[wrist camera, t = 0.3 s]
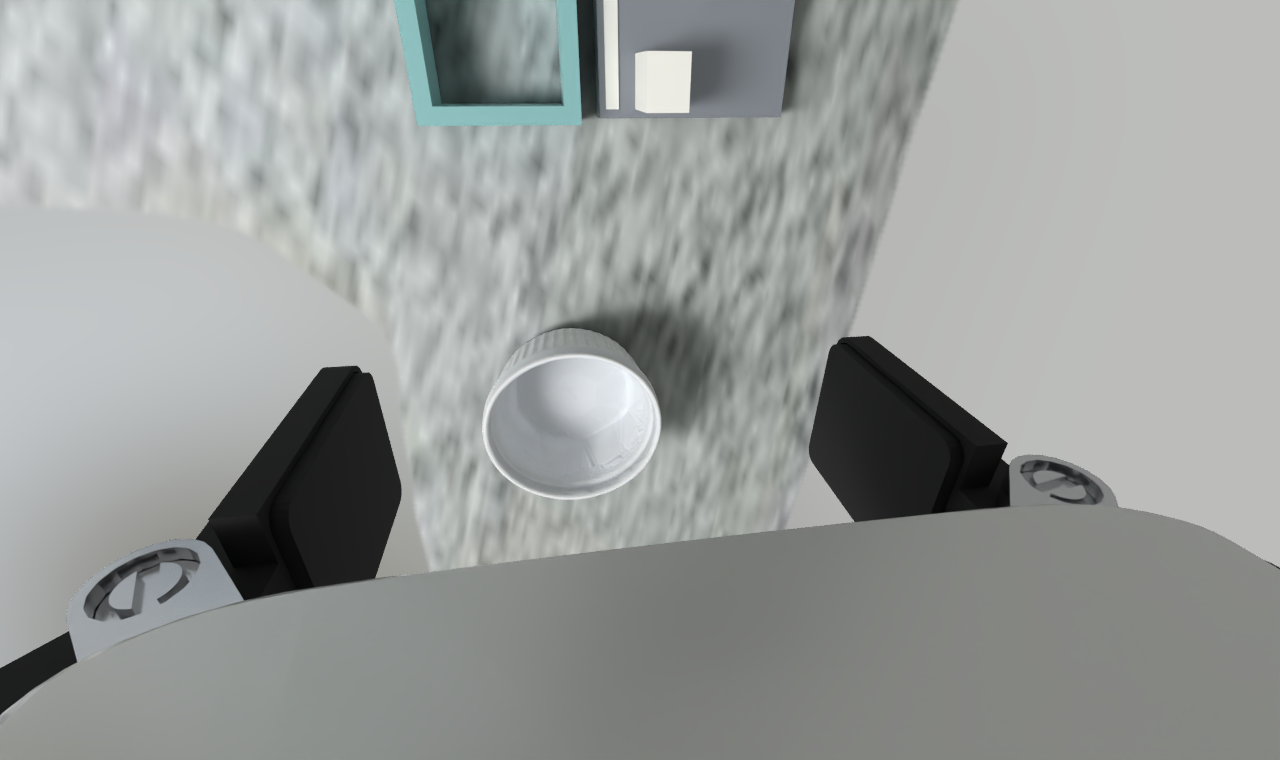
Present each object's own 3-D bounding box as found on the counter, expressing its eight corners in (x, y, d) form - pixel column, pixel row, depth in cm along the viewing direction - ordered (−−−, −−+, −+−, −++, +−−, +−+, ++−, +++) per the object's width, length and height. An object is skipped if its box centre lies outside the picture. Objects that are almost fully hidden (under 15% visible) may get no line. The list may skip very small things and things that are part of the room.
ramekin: (466, 421, 45) (455, 474, 39) (526, 286, 40) (524, 323, 34) (605, 465, 50) (614, 518, 44) (674, 349, 45) (694, 391, 39)
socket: (394, -72, 29) (377, -89, 26) (569, -65, 30) (572, -80, 27) (428, 121, 34) (417, 126, 31) (578, 120, 35) (581, 124, 32)
